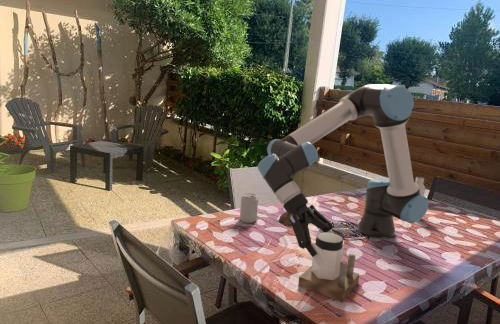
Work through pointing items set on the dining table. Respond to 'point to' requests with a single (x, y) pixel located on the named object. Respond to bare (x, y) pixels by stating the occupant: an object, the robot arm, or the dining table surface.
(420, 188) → the pale carved statuette
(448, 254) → the dining table surface
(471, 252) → the dining table surface
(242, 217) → the can
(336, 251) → the jar
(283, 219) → the bread roll
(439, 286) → the dining table surface
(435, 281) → the dining table surface
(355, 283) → the peg stand
